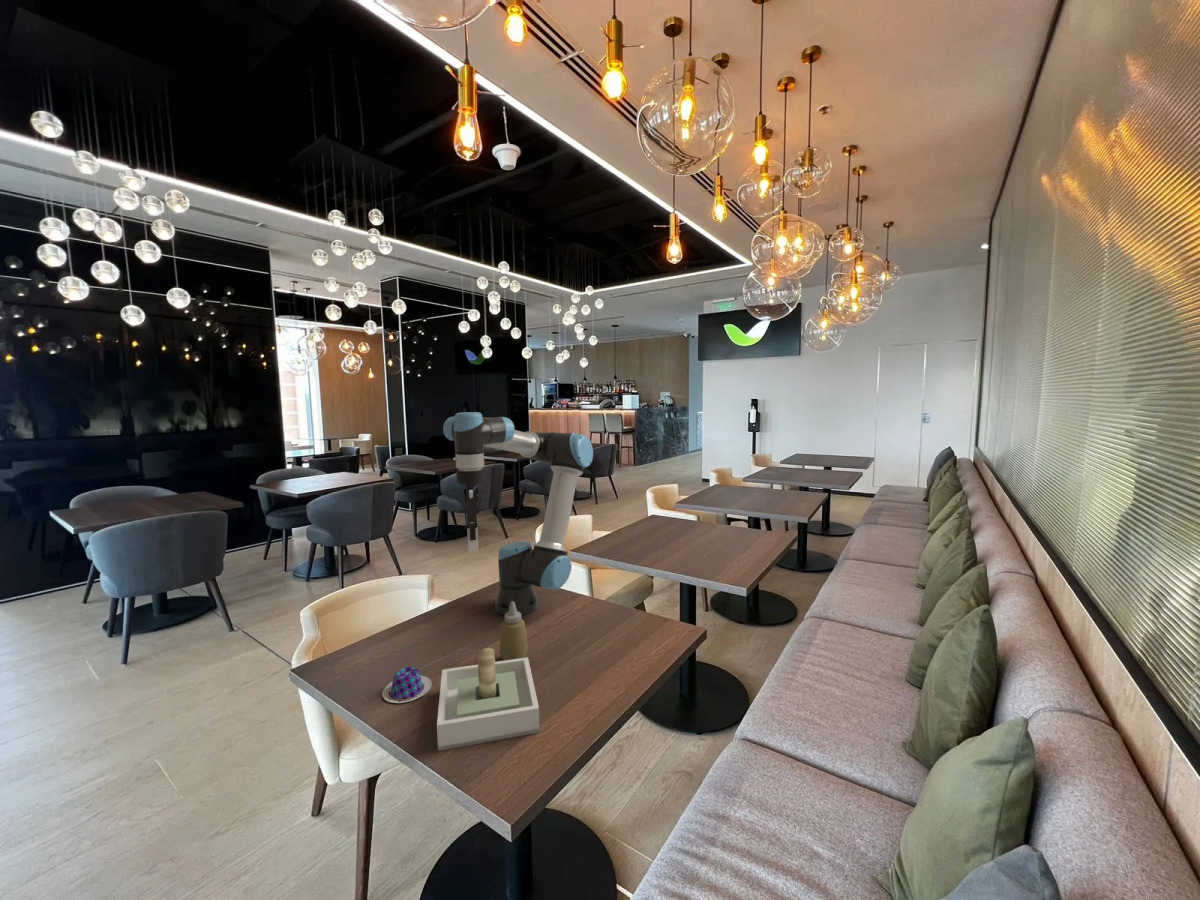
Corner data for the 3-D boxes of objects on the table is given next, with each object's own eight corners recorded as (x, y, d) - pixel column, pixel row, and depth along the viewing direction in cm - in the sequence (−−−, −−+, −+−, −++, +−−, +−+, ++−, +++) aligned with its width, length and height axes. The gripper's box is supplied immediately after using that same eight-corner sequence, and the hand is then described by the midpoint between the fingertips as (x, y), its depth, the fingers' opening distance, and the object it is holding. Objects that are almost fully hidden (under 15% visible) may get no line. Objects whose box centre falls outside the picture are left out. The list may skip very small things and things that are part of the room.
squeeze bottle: (522, 671, 137) (520, 609, 134) (495, 668, 138) (493, 607, 136) (532, 656, 144) (530, 597, 142) (506, 653, 146) (504, 595, 144)
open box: (443, 691, 128) (442, 669, 127) (528, 678, 133) (527, 657, 133) (438, 751, 107) (436, 725, 106) (539, 732, 112) (539, 708, 112)
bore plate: (458, 694, 125) (458, 679, 124) (514, 685, 128) (514, 671, 128) (457, 731, 112) (456, 714, 111) (520, 720, 115) (519, 704, 115)
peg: (479, 703, 121) (477, 649, 120) (496, 700, 122) (494, 647, 121) (480, 713, 118) (477, 658, 116) (497, 710, 119) (494, 655, 117)
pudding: (405, 674, 136) (404, 656, 136) (441, 682, 132) (440, 664, 132) (371, 699, 125) (370, 680, 125) (409, 710, 121) (408, 690, 120)
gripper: (457, 462, 147) (460, 532, 149) (454, 477, 123) (458, 559, 125) (482, 461, 149) (485, 530, 151) (485, 475, 125) (488, 556, 127)
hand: (473, 543), depth 138 cm, fingers open, 13 cm apart
